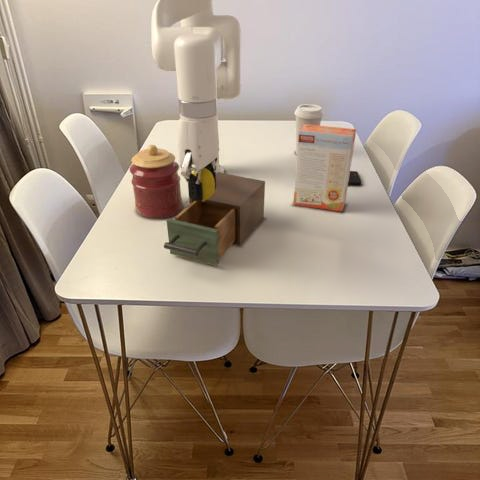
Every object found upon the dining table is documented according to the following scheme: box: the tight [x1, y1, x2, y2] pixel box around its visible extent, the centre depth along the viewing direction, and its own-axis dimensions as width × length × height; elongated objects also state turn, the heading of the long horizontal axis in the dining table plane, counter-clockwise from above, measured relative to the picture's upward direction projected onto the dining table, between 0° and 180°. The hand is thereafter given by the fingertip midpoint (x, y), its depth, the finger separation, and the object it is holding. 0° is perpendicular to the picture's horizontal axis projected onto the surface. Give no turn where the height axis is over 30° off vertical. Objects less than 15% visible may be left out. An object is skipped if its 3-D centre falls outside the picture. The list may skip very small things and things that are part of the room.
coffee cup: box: [294, 103, 324, 155], centre depth 156 cm, size 10×10×15 cm
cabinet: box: [188, 172, 266, 247], centre depth 118 cm, size 16×14×11 cm
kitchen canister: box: [129, 144, 183, 219], centre depth 123 cm, size 13×13×18 cm
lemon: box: [192, 168, 215, 202], centre depth 101 cm, size 6×6×8 cm
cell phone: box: [348, 170, 362, 186], centre depth 144 cm, size 9×18×1 cm, turn 87°
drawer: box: [163, 200, 237, 267], centre depth 108 cm, size 20×12×9 cm, turn 156°
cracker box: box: [293, 124, 357, 212], centre depth 124 cm, size 14×6×21 cm, turn 71°
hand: (202, 192), depth 103 cm, fingers closed on lemon, 5 cm apart
